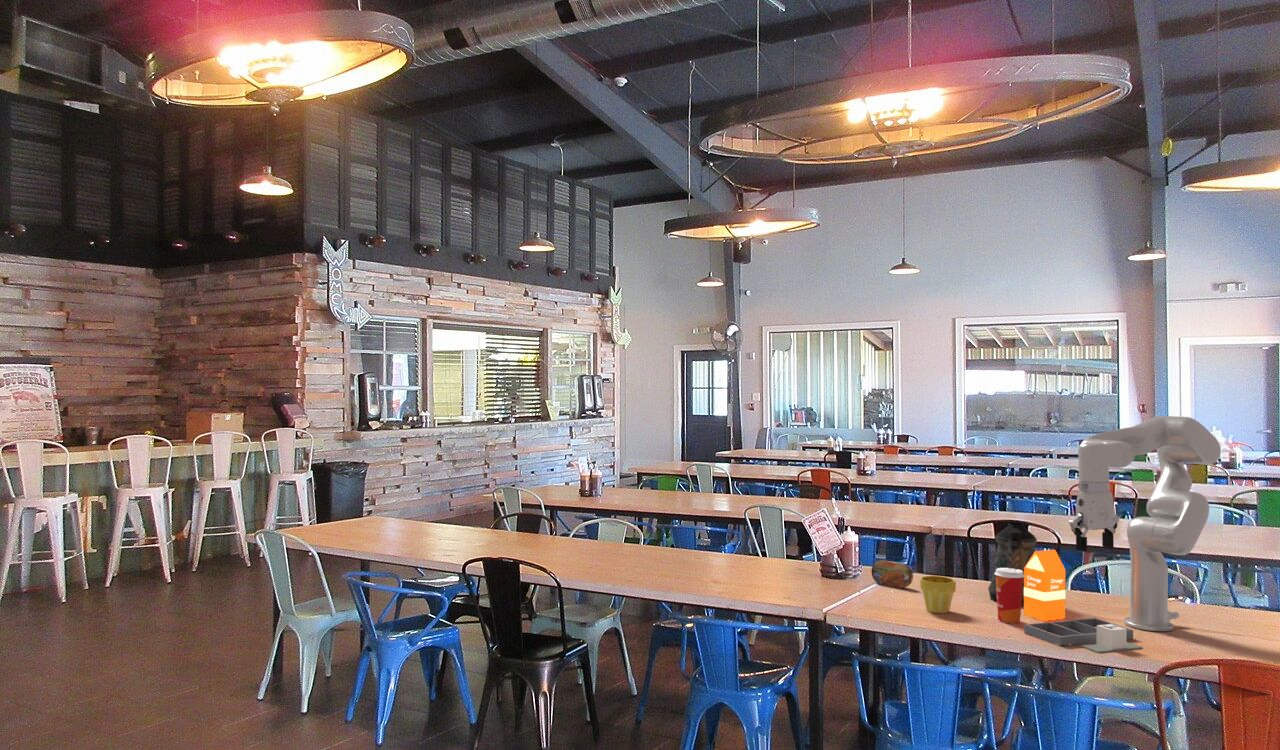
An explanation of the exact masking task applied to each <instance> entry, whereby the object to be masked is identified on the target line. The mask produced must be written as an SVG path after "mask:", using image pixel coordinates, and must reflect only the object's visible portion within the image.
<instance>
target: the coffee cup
mask: <svg viewBox="0 0 1280 750" xmlns="http://www.w3.org/2000/svg"><path fill="white" fill-rule="evenodd" d="M1015 570H1016V569H1013V568H1011V569H1010V568H997V569H996V572H995V575H996V591H997V602H996V606H997V619H998V621H999V620H1000V621H1002V622H1001V623H1003V622H1006V623H1005V624H1010V623H1017V624H1019V622H1020V623H1021V616H1022V615H1021V614H1022V606H1021V602H1022V588H1023V577H1025V576H1024V575H1023V571H1022V570H1019V569H1017V570H1016V571H1015ZM1000 621H999V622H1000Z"/></svg>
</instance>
